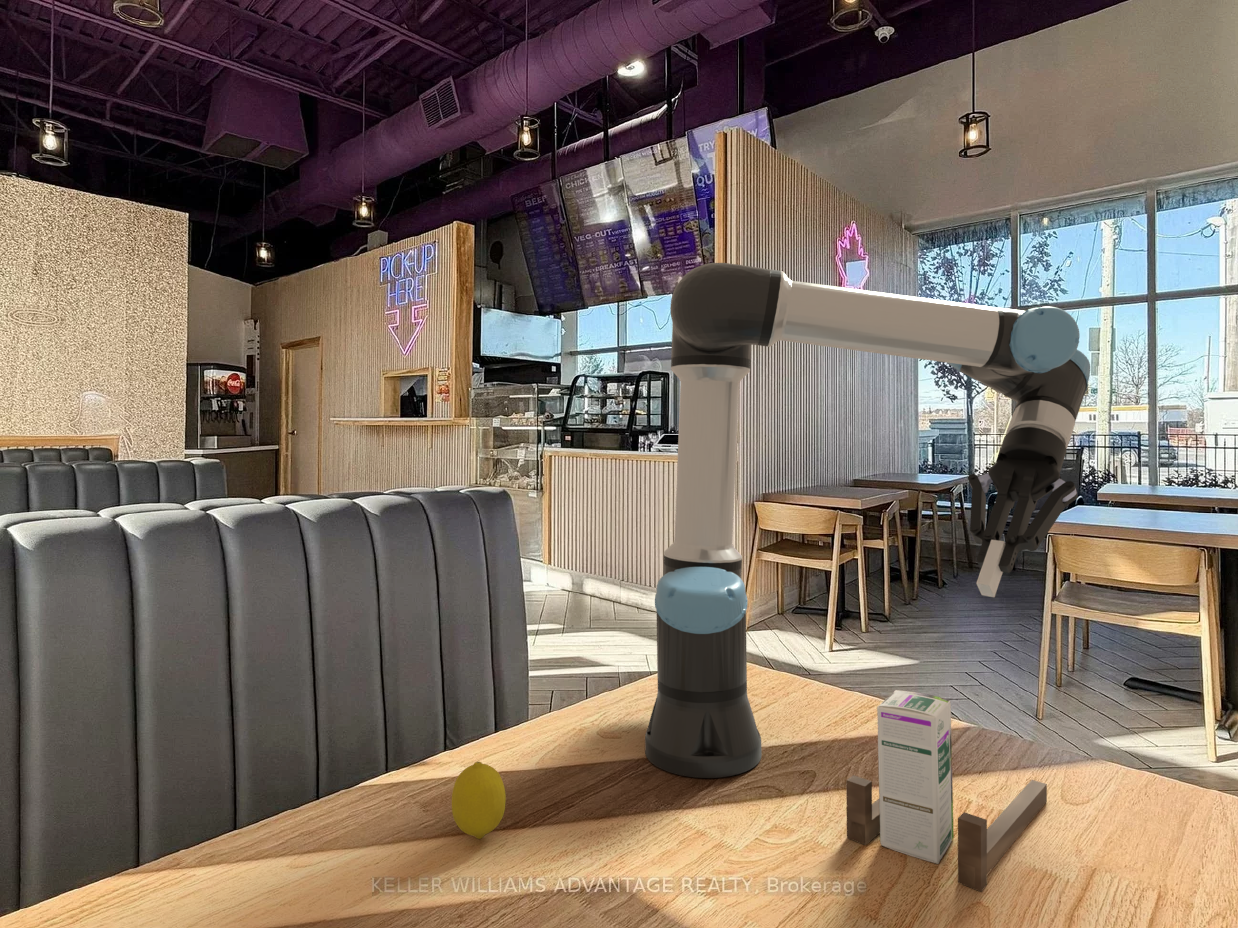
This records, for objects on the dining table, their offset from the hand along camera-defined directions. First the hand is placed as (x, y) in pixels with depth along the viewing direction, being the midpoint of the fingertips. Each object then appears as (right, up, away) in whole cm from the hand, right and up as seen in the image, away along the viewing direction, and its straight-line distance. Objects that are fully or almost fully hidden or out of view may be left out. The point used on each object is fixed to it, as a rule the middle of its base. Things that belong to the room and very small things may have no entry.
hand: (985, 590), depth 88 cm
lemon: (-59, -24, -13) cm, 65 cm away
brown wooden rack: (-9, -23, -11) cm, 27 cm away
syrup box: (-15, -23, -15) cm, 31 cm away
